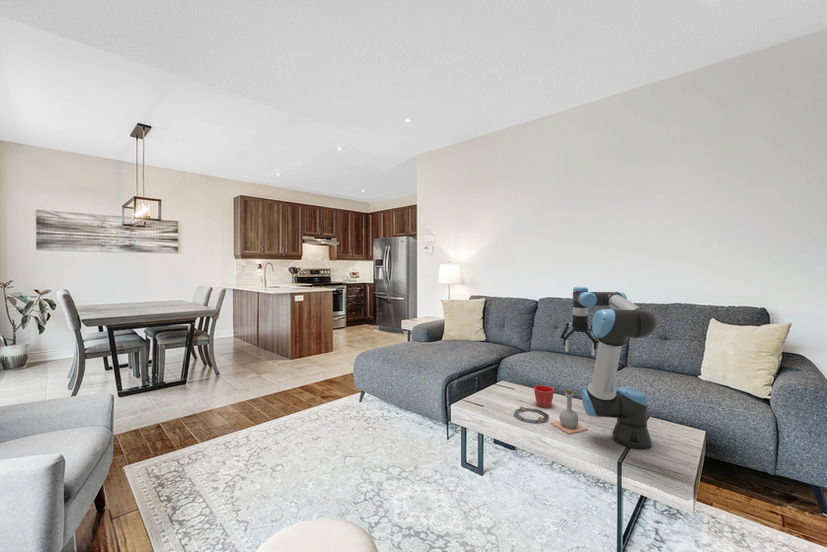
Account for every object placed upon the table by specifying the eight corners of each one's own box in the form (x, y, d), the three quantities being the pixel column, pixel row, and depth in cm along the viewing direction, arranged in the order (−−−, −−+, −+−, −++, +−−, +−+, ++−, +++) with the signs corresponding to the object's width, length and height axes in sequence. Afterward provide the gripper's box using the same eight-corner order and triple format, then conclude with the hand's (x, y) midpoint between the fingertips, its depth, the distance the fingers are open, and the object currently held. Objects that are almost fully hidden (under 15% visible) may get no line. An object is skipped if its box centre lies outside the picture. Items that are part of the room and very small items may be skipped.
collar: (555, 420, 182) (555, 416, 182) (528, 425, 176) (528, 421, 176) (533, 408, 198) (533, 404, 198) (508, 412, 192) (508, 408, 192)
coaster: (587, 430, 171) (587, 428, 171) (568, 434, 167) (568, 432, 167) (569, 420, 182) (569, 418, 182) (550, 424, 178) (550, 422, 178)
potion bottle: (556, 422, 179) (556, 386, 178) (573, 421, 179) (573, 386, 179) (564, 430, 170) (565, 392, 169) (582, 429, 170) (583, 392, 170)
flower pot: (557, 408, 197) (557, 391, 197) (537, 408, 198) (537, 391, 197) (550, 401, 208) (550, 385, 208) (531, 401, 208) (531, 385, 208)
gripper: (607, 316, 189) (606, 355, 189) (558, 312, 205) (558, 348, 205) (604, 317, 183) (603, 358, 184) (554, 313, 199) (554, 351, 199)
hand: (579, 353), depth 194 cm, fingers open, 13 cm apart
